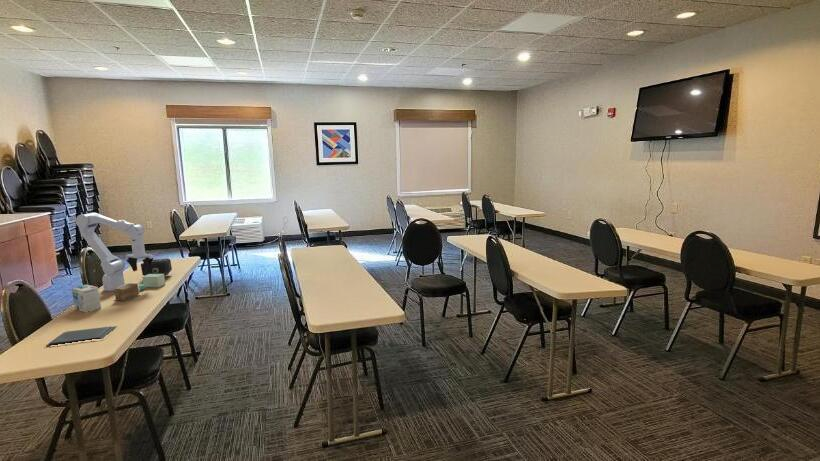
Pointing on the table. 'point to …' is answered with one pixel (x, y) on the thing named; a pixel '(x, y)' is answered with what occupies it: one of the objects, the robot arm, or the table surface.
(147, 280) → the sage cover
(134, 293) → the brown box
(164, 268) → the camera
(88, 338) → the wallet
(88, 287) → the light bulb box
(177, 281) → the table surface
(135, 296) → the slate mat
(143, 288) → the marble
